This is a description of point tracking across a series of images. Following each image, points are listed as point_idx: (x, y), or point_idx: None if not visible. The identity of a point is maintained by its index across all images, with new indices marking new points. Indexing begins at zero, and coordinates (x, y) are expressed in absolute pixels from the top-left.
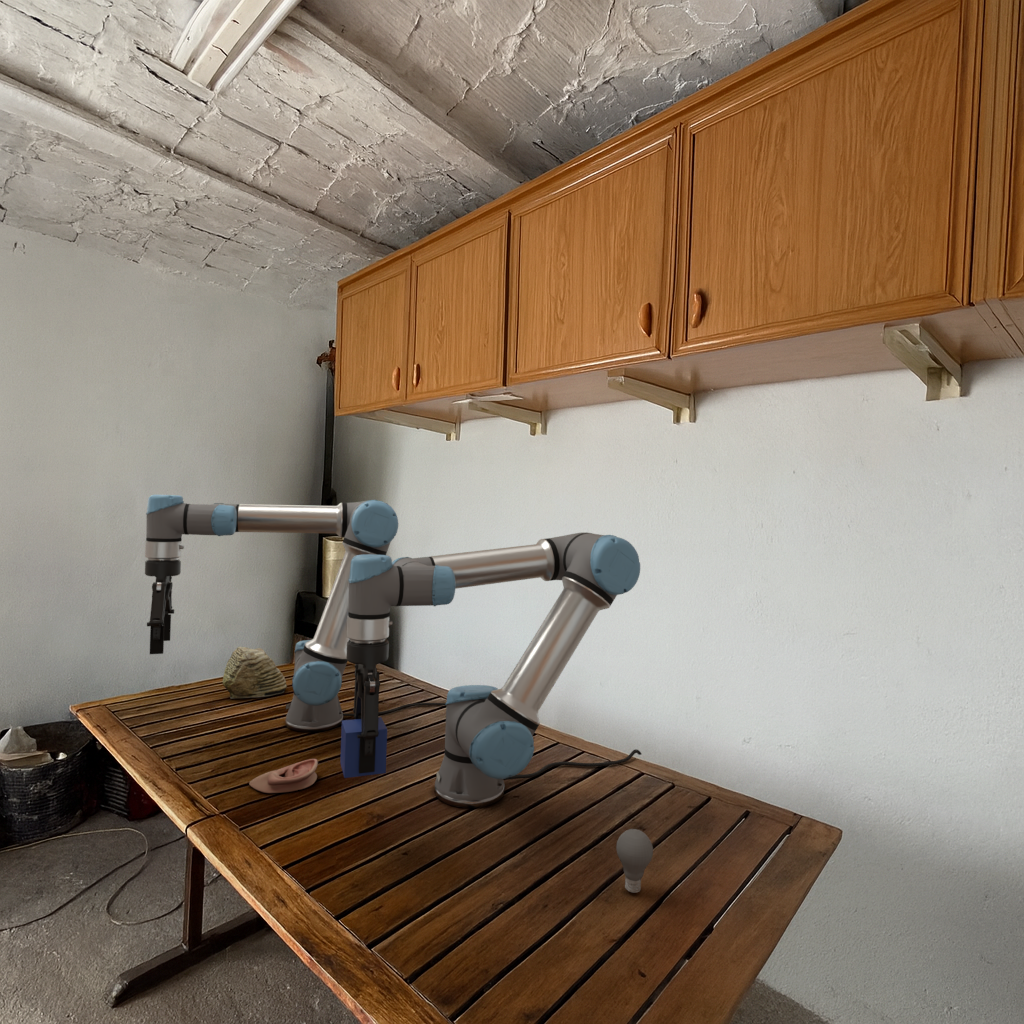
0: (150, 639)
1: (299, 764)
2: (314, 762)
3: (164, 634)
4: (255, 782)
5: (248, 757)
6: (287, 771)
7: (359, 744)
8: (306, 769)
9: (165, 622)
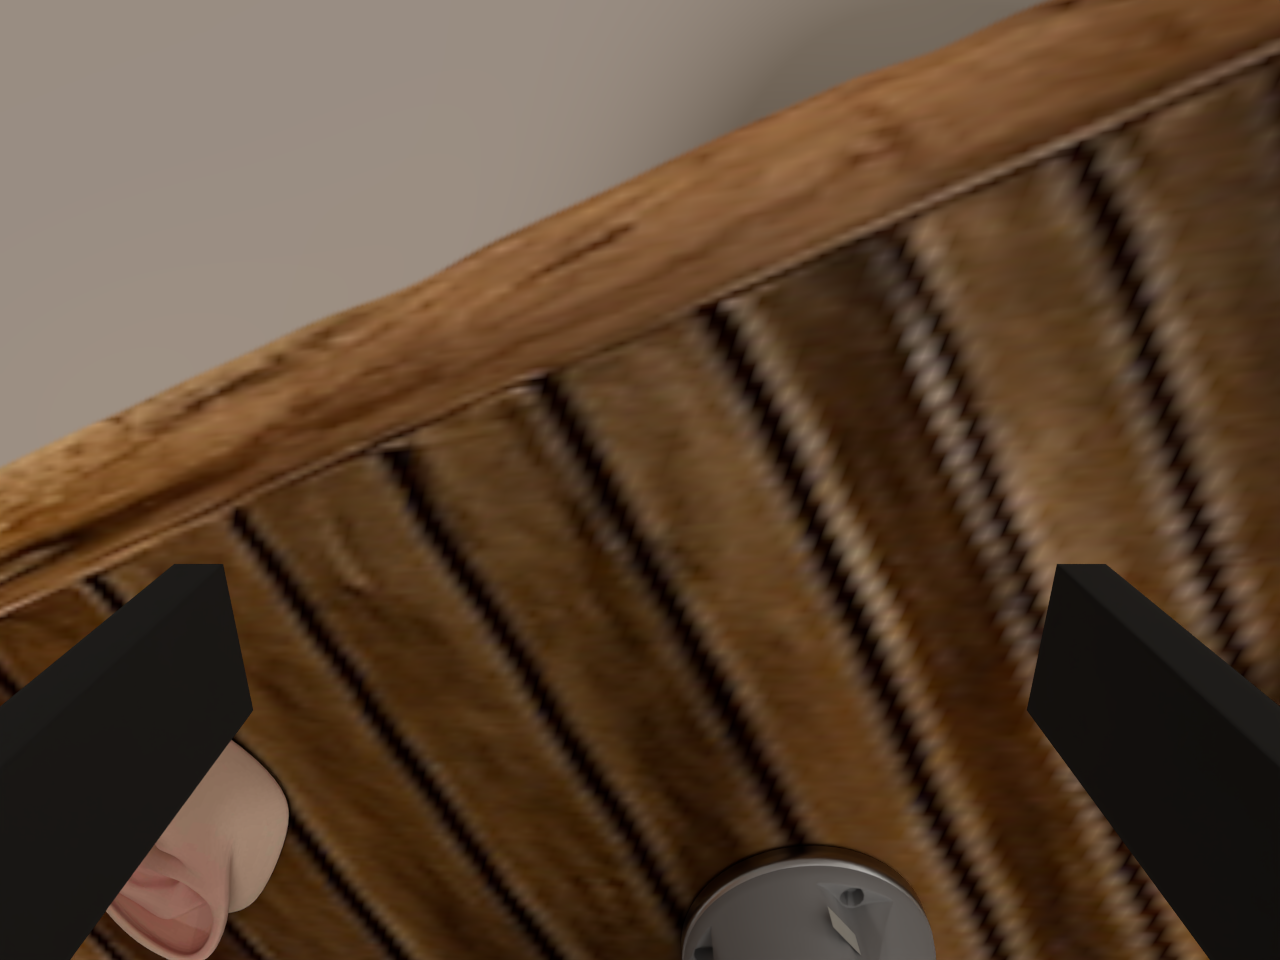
0: (11, 705)
1: (207, 900)
2: (195, 948)
3: (1092, 709)
4: None
5: (469, 710)
6: (172, 857)
7: None
8: (161, 915)
9: (1241, 894)
